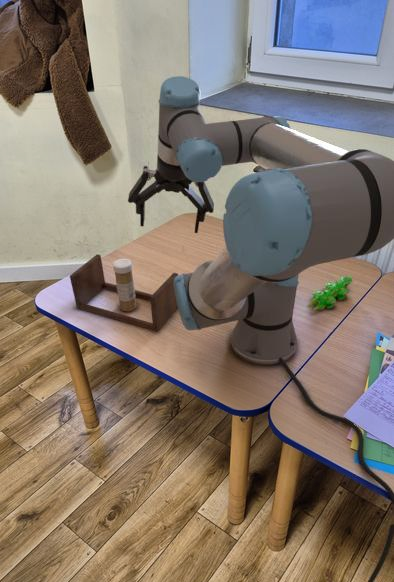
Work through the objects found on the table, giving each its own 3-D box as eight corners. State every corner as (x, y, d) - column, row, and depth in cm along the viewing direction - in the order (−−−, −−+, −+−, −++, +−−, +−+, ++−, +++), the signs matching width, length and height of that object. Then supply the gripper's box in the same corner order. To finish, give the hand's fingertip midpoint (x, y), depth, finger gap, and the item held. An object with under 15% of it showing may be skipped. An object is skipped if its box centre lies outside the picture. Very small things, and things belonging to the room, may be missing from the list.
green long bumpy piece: (358, 290, 127) (361, 277, 125) (319, 318, 118) (322, 304, 115) (337, 281, 131) (340, 268, 128) (298, 308, 122) (300, 294, 119)
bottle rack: (157, 331, 115) (154, 298, 109) (76, 308, 123) (69, 275, 117) (179, 306, 123) (178, 273, 117) (102, 285, 131) (96, 254, 125)
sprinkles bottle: (130, 300, 126) (124, 255, 117) (140, 307, 123) (135, 262, 114) (116, 306, 124) (109, 261, 115) (125, 314, 121) (119, 269, 112)
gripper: (233, 151, 101) (219, 220, 120) (118, 135, 100) (121, 208, 118) (232, 175, 98) (217, 243, 116) (113, 159, 96) (117, 230, 115)
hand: (169, 225), depth 117 cm, fingers open, 13 cm apart
